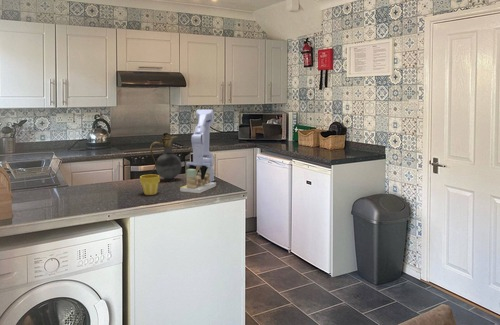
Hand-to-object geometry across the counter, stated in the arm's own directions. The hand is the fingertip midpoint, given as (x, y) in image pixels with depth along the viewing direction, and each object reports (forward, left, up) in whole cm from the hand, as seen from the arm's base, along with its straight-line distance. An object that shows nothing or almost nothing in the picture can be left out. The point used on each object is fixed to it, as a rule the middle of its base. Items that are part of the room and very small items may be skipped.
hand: (198, 178), depth 242 cm
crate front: (+7, -1, +2) cm, 7 cm away
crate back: (-7, 0, +2) cm, 7 cm away
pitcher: (-12, -29, -6) cm, 32 cm away
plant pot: (+21, -18, -6) cm, 28 cm away
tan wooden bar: (0, 0, -4) cm, 4 cm away
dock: (0, 0, -6) cm, 6 cm away
